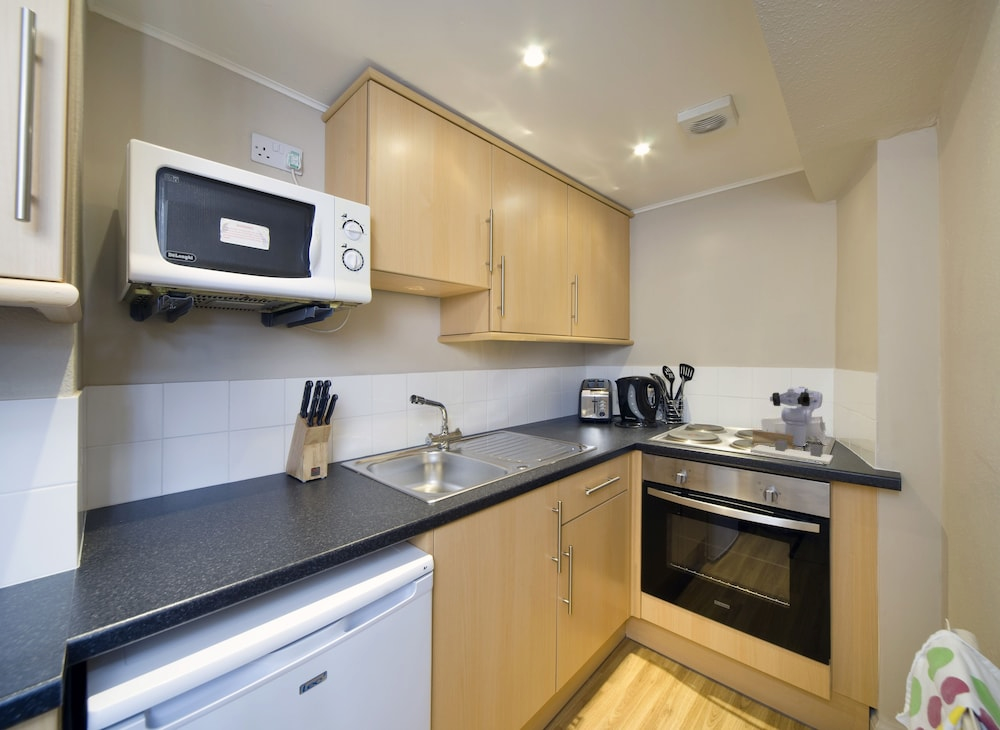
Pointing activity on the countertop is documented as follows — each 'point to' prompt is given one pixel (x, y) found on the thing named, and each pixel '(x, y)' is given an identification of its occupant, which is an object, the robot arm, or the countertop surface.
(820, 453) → the board
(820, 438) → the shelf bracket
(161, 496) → the countertop surface
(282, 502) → the countertop surface
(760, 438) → the door panel
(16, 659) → the countertop surface
